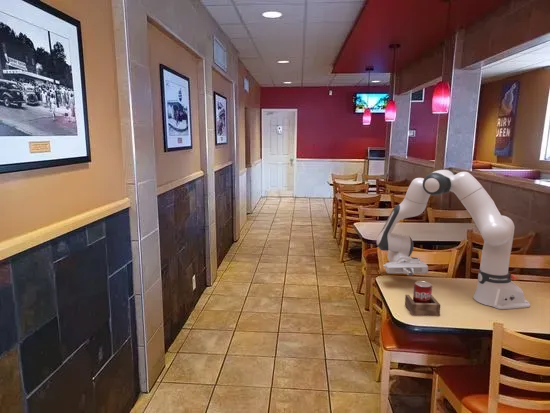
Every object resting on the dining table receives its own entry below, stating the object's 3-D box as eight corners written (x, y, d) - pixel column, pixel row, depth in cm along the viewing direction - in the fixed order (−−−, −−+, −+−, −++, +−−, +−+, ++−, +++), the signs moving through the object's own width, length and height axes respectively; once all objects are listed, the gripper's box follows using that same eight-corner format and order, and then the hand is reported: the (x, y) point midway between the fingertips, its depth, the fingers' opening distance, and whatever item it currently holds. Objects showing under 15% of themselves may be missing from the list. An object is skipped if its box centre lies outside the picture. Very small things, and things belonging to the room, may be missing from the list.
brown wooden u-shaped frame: (430, 305, 171) (431, 294, 170) (439, 315, 161) (440, 304, 160) (404, 304, 171) (405, 294, 170) (411, 315, 161) (412, 304, 161)
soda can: (432, 314, 163) (434, 287, 160) (414, 313, 164) (416, 286, 161) (427, 306, 170) (429, 281, 168) (410, 305, 171) (412, 280, 168)
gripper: (382, 258, 196) (389, 267, 182) (422, 258, 195) (432, 267, 182) (381, 270, 197) (388, 280, 183) (421, 269, 196) (431, 279, 183)
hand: (410, 273), depth 182 cm, fingers closed
